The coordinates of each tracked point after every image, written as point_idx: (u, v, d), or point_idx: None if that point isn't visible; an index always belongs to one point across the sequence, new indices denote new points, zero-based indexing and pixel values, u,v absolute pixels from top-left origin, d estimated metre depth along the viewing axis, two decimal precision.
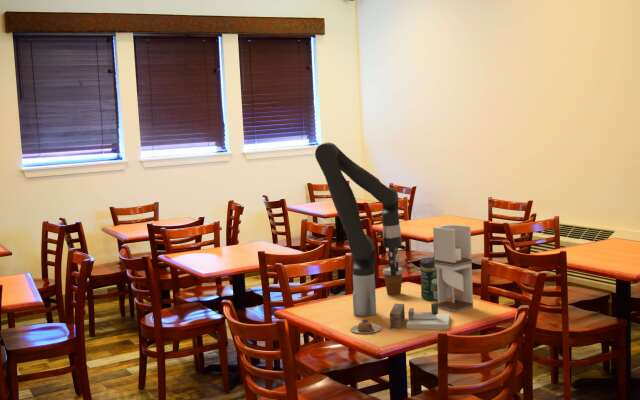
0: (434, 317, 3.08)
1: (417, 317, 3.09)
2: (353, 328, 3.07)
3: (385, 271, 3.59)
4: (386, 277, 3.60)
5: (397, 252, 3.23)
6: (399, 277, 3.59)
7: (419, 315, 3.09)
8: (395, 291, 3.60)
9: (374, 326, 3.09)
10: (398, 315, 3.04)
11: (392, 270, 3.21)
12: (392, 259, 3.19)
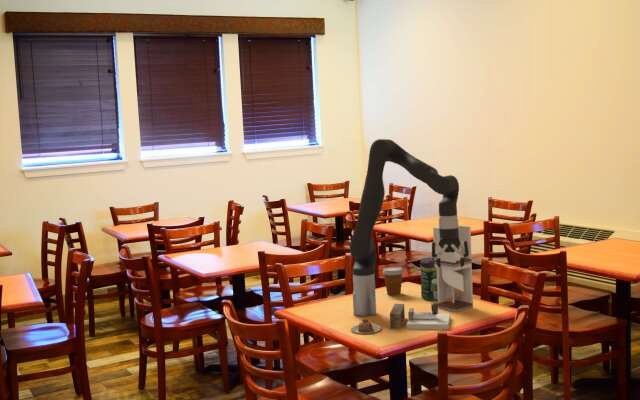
0: (434, 317, 3.08)
1: (417, 317, 3.09)
2: (353, 328, 3.07)
3: (385, 271, 3.59)
4: (386, 277, 3.60)
5: None
6: (399, 277, 3.59)
7: (419, 315, 3.09)
8: (395, 291, 3.60)
9: (374, 326, 3.09)
10: (398, 315, 3.04)
11: None
12: None
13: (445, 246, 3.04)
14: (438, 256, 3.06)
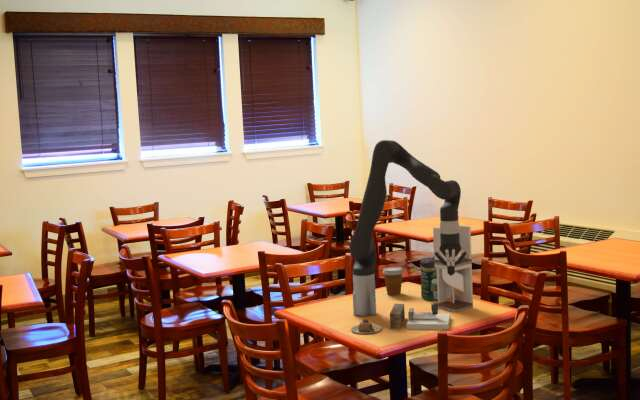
0: (434, 317, 3.08)
1: (417, 317, 3.09)
2: (353, 328, 3.07)
3: (385, 271, 3.59)
4: (386, 277, 3.60)
5: None
6: (399, 277, 3.59)
7: (419, 315, 3.09)
8: (395, 291, 3.60)
9: (374, 326, 3.09)
10: (398, 315, 3.04)
11: (454, 269, 3.05)
12: None
13: (446, 251, 3.03)
14: (448, 263, 3.05)
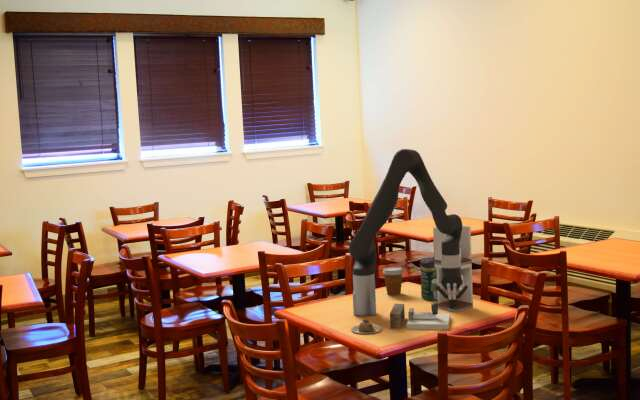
0: (434, 317, 3.08)
1: (417, 317, 3.09)
2: (354, 328, 3.07)
3: (385, 271, 3.59)
4: (386, 277, 3.60)
5: None
6: (399, 277, 3.59)
7: (419, 315, 3.09)
8: (395, 291, 3.60)
9: (375, 326, 3.08)
10: (398, 315, 3.04)
11: (455, 302, 3.07)
12: None
13: (448, 285, 3.05)
14: (449, 297, 3.06)
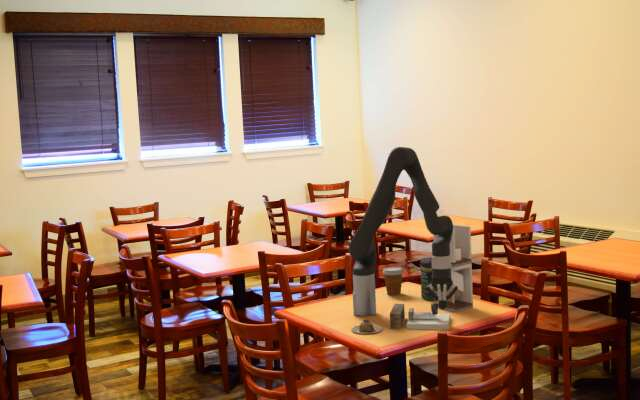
0: (434, 317, 3.08)
1: (416, 317, 3.09)
2: (354, 328, 3.07)
3: (385, 271, 3.59)
4: (386, 277, 3.60)
5: None
6: (399, 277, 3.59)
7: (419, 315, 3.09)
8: (395, 291, 3.60)
9: (375, 326, 3.08)
10: (398, 315, 3.04)
11: None
12: None
13: (438, 286, 3.06)
14: (440, 298, 3.07)
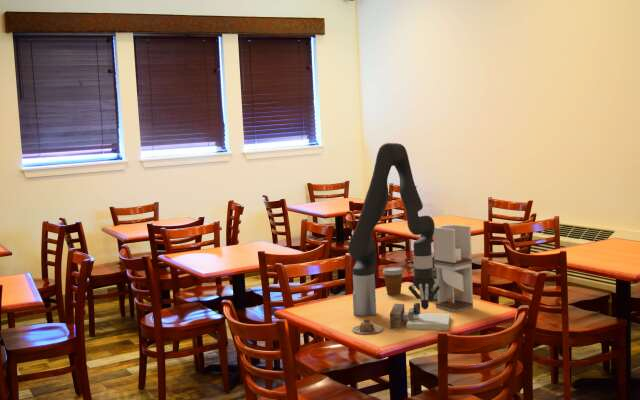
0: (416, 317, 3.09)
1: None
2: (355, 328, 3.07)
3: (385, 271, 3.59)
4: (386, 277, 3.60)
5: None
6: (399, 277, 3.59)
7: None
8: (395, 291, 3.60)
9: (376, 326, 3.08)
10: (398, 315, 3.04)
11: None
12: None
13: (420, 286, 3.07)
14: (422, 297, 3.08)
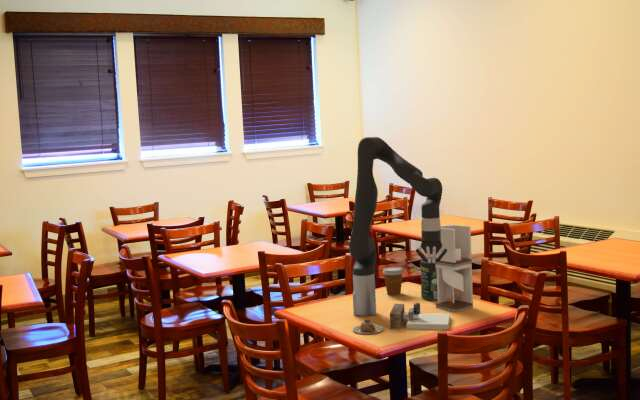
0: (416, 317, 3.09)
1: None
2: (355, 328, 3.07)
3: (385, 271, 3.59)
4: (386, 277, 3.60)
5: None
6: (399, 277, 3.59)
7: None
8: (395, 291, 3.60)
9: (376, 326, 3.08)
10: (398, 315, 3.04)
11: (435, 266, 3.07)
12: None
13: (427, 248, 3.05)
14: (429, 260, 3.06)
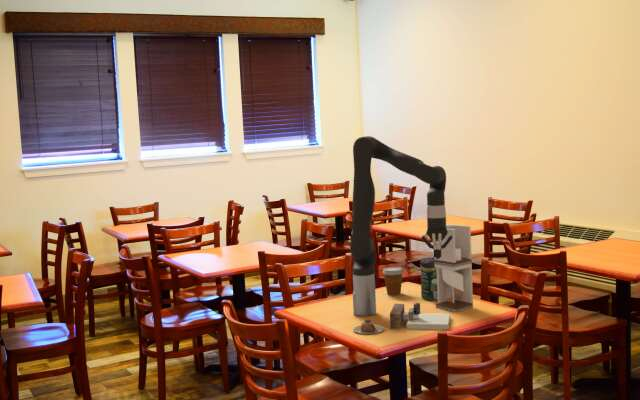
0: (416, 317, 3.09)
1: None
2: (356, 328, 3.07)
3: (385, 271, 3.59)
4: (386, 277, 3.60)
5: None
6: (399, 277, 3.59)
7: None
8: (395, 291, 3.60)
9: (377, 326, 3.08)
10: (398, 315, 3.04)
11: None
12: None
13: (433, 235, 3.11)
14: (435, 247, 3.12)
